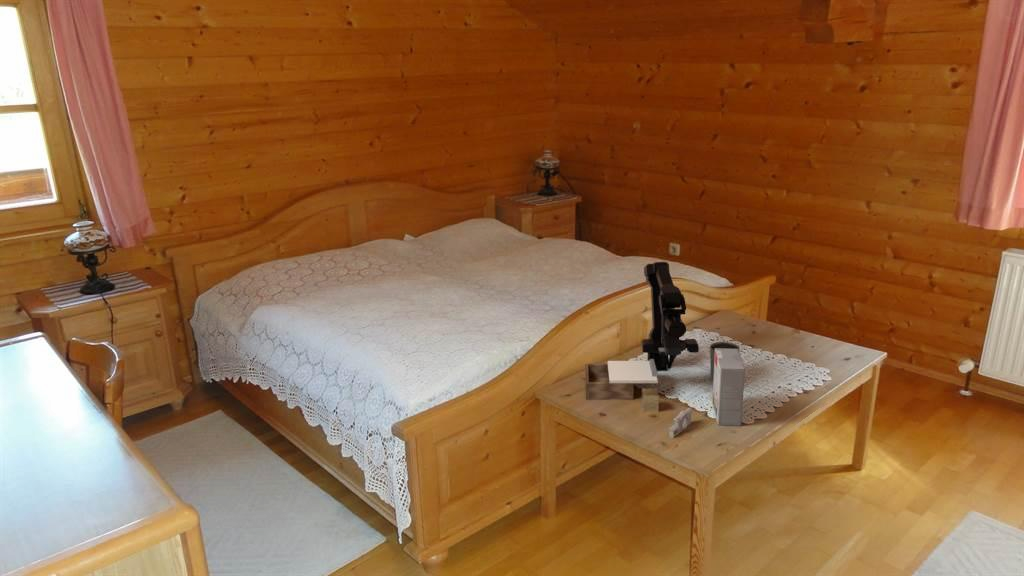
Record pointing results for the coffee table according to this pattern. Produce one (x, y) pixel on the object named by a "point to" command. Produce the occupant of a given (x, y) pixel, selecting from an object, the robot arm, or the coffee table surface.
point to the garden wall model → (681, 422)
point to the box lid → (632, 371)
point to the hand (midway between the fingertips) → (668, 368)
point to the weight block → (650, 400)
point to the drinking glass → (712, 353)
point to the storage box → (605, 384)
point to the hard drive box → (728, 386)
